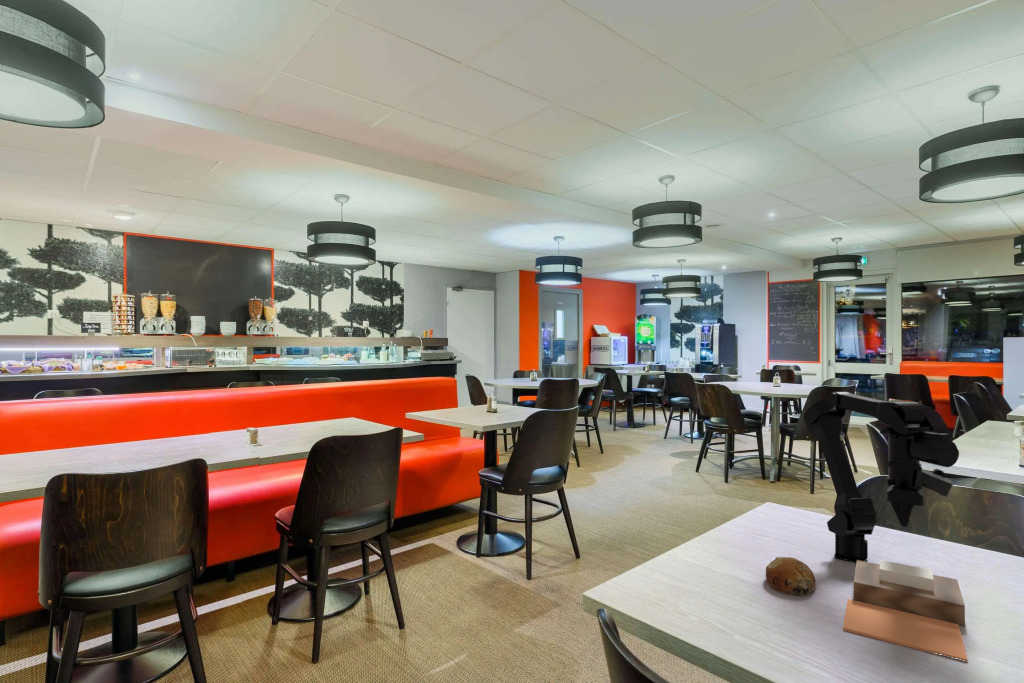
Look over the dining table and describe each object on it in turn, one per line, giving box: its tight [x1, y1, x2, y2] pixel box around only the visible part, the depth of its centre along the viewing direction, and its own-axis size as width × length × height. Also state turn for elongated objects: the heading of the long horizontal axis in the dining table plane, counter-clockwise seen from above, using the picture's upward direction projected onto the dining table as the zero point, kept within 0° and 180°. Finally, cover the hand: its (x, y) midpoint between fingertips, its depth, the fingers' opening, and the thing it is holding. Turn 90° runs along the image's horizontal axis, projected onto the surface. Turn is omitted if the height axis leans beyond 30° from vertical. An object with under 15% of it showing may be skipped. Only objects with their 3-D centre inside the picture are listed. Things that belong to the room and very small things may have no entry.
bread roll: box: [765, 556, 816, 597], centre depth 120 cm, size 10×10×8 cm
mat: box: [842, 598, 969, 662], centre depth 102 cm, size 18×14×1 cm
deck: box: [853, 560, 966, 627], centre depth 113 cm, size 18×14×4 cm
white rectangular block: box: [879, 559, 934, 591], centre depth 113 cm, size 9×6×2 cm, turn 55°
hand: (904, 526), depth 121 cm, fingers closed
